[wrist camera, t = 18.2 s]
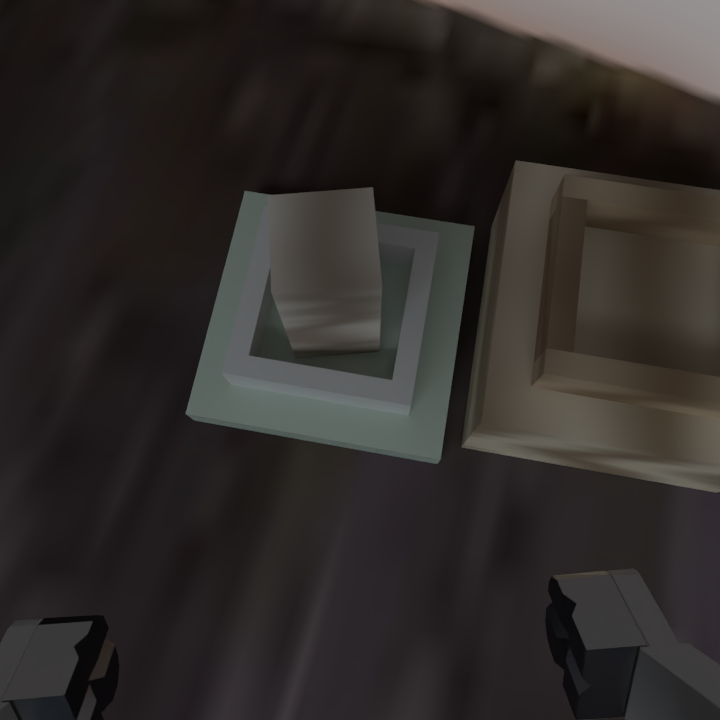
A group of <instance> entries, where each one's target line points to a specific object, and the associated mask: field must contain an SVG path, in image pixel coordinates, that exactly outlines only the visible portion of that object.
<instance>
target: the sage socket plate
mask: <svg viewBox="0 0 720 720" xmlns="http://www.w3.org/2000/svg"><path fill="white" fill-rule="evenodd" d="M267 195H268V194H262V193H255V192H249V191H245V192H244V196H243V200H242V204H241V207H240V211H239V215H238V219H237V223H236V226H235V230H234V234H233V238H232V241H231V245H230V249H229V253H228V256H227V260H226V264H225V268H224V271H223V275H222V279H221V283H220V287H219V290H218V294H217V298H216V302H215V305H214V309H213V313H212V317H211V320H210V324H209V328H208V332H207V335H206V339H205V343H204V347H203V351H202V354H201V358H200V362H199V366H198V369H197V373H196V377H195V381H194V384H193V388H192V392H191V396H190V399H189V403H188V407H187V411H186V414H187V415H188V416H189V417H191V418H192V419H193V420H195V421H201V422H207V423H212V424H218V425H223V426H229V427H234V428H240V429H245V430H251V431H257V432H262V433H268V434H273V435H279V436H284V437H290V438H295V439H301V440H307V441H312V442H318V443H323V444H329V445H334V446H340V447H345V448H351V449H357V450H362V451H368V452H373V453H379V454H384V455H390V456H395V457H401V458H407V459H412V460H418V461H423V462H429V463H434V464H438V462H439V461H440V460H441V453H442V446H443V439H444V432H445V426H446V419H447V412H448V405H449V398H450V391H451V385H452V378H453V371H454V364H455V357H456V351H457V344H458V337H459V330H460V323H461V317H462V310H463V303H464V296H465V289H466V283H467V276H468V269H469V262H470V255H471V248H472V242H473V235H474V228H475V226H469V225H463V224H456V223H450V222H443V221H437V220H430V219H424V218H418V217H411V216H405V215H398V214H392V213H385V212H379V211H375V215H376V225H377V236H378V246H379V257H380V267H381V278H382V300H381V325H380V350H379V352H371V353H359V354H346V355H333V356H321V357H308V358H296V357H295V354H294V352H293V349H292V347H291V344H290V341H289V339H288V336H287V333H286V331H285V328H284V325H283V323H282V320H281V317H280V315H279V312H278V310H277V307H276V304H275V302H274V299H273V296H272V294H271V273H270V249H269V224H268V199H267Z"/></svg>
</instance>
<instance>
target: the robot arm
mask: <svg viewBox="0 0 720 720" xmlns="http://www.w3.org/2000/svg"><path fill="white" fill-rule="evenodd" d="M548 592H549V595H550V597H551V600H552V603H551V604H550V605H549V606H548V607H547V608H546V618H545V624H546V633H547V639H548V643H549V647H550V651H551V653H552V656H553V659H554V662H555V663H556V664H558V665H559V666H560V667H561V668H562V669H564V677H563V687H564V690H565V693H566V695H567V698H568V701H569V704H570V706H571V709H572V712H573V714H574V717H575V720H586V719H602V718H619V717H625V719H624V720H720V665H719V664H718V663H716V662H715V661H713V660H712V659H710V658H709V657H708V656H706V655H705V654H703V653H702V652H700V651H699V650H697V649H696V648H694V647H693V646H692V645H690V644H689V643H681V644H680V643H679V641H678V640H677V638H676V636H675V634H674V633H673V631H672V629H671V628H670V626H669V624H668V622H667V621H666V619H665V617H664V615H663V614H662V612H661V610H660V608H659V607H658V605H657V603H656V602H655V600H654V598H653V596H652V595H651V593H650V591H649V589H648V588H647V586H646V584H645V582H644V581H643V579H642V577H641V576H640V574H639V572H637V571H636V570H635V569H624V570H612V571H606V572H605V571H598V572H587V573H577V574H567V575H557V576H552V577H551V579H550V580H549V587H548ZM108 629H109V628H108V625H107V623H106V621H105V618H104V616H102V615H92V616H74V617H57V618H44V619H30V620H16V621H15V622H14V623H13V624H12V625H11V626H10V627H9V628H8V629H7V631H6V633H5V635H4V637H3V639H2V641H1V643H0V720H104V719H103V716H102V714H101V712H102V711H103V710H104V709H105V708H106V707H107V706H108V705H109V704H110V703H111V702H112V701H113V699H114V696H115V692H116V689H117V685H118V676H119V659H118V653H117V650H116V647H115V645H114V644H113V643H111V642H110V641H108V640H107V639H105V638H106V635H107V632H108Z"/></svg>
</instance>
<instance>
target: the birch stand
mask: <svg viewBox="0 0 720 720" xmlns="http://www.w3.org/2000/svg"><path fill="white" fill-rule="evenodd" d="M461 447H463V448H468V449H474V450H480V451H485V452H491V453H497V454H502V455H508V456H513V457H519V458H525V459H530V460H536V461H542V462H547V463H553V464H558V465H564V466H570V467H575V468H581V469H587V470H592V471H598V472H603V473H609V474H615V475H620V476H626V477H632V478H637V479H643V480H648V481H654V482H660V483H665V484H671V485H677V486H682V487H688V488H693V489H699V490H705V491H710V492H720V190H715V189H708V188H701V187H694V186H687V185H680V184H674V183H667V182H660V181H653V180H646V179H640V178H633V177H626V176H619V175H612V174H605V173H599V172H592V171H585V170H578V169H571V168H565V167H558V166H551V165H544V164H537V163H530V162H524V161H517V160H516V161H515V163H514V166H513V169H512V172H511V174H510V177H509V180H508V183H507V185H506V188H505V191H504V194H503V196H502V199H501V202H500V205H499V207H498V210H497V213H496V216H495V218H494V221H493V224H492V227H491V234H490V241H489V248H488V256H487V263H486V270H485V277H484V285H483V292H482V299H481V306H480V313H479V321H478V328H477V335H476V342H475V350H474V357H473V364H472V371H471V378H470V386H469V393H468V400H467V407H466V415H465V422H464V429H463V436H462V443H461Z"/></svg>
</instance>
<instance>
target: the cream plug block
mask: <svg viewBox="0 0 720 720" xmlns="http://www.w3.org/2000/svg"><path fill="white" fill-rule="evenodd" d="M267 199H268V224H269V249H270V273H271V294H272V296H273V299H274V302H275V304H276V307H277V310H278V312H279V315H280V317H281V320H282V323H283V325H284V328H285V331H286V333H287V336H288V339H289V341H290V344H291V347H292V349H293V352H294V354H295V357H296V358H308V357H321V356H333V355H346V354H359V353H371V352H379V350H380V325H381V300H382V278H381V267H380V257H379V246H378V236H377V225H376V215H375V204H374V194H373V187H369V188H357V189H344V190H331V191H318V192H305V193H292V194H279V195H267Z"/></svg>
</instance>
